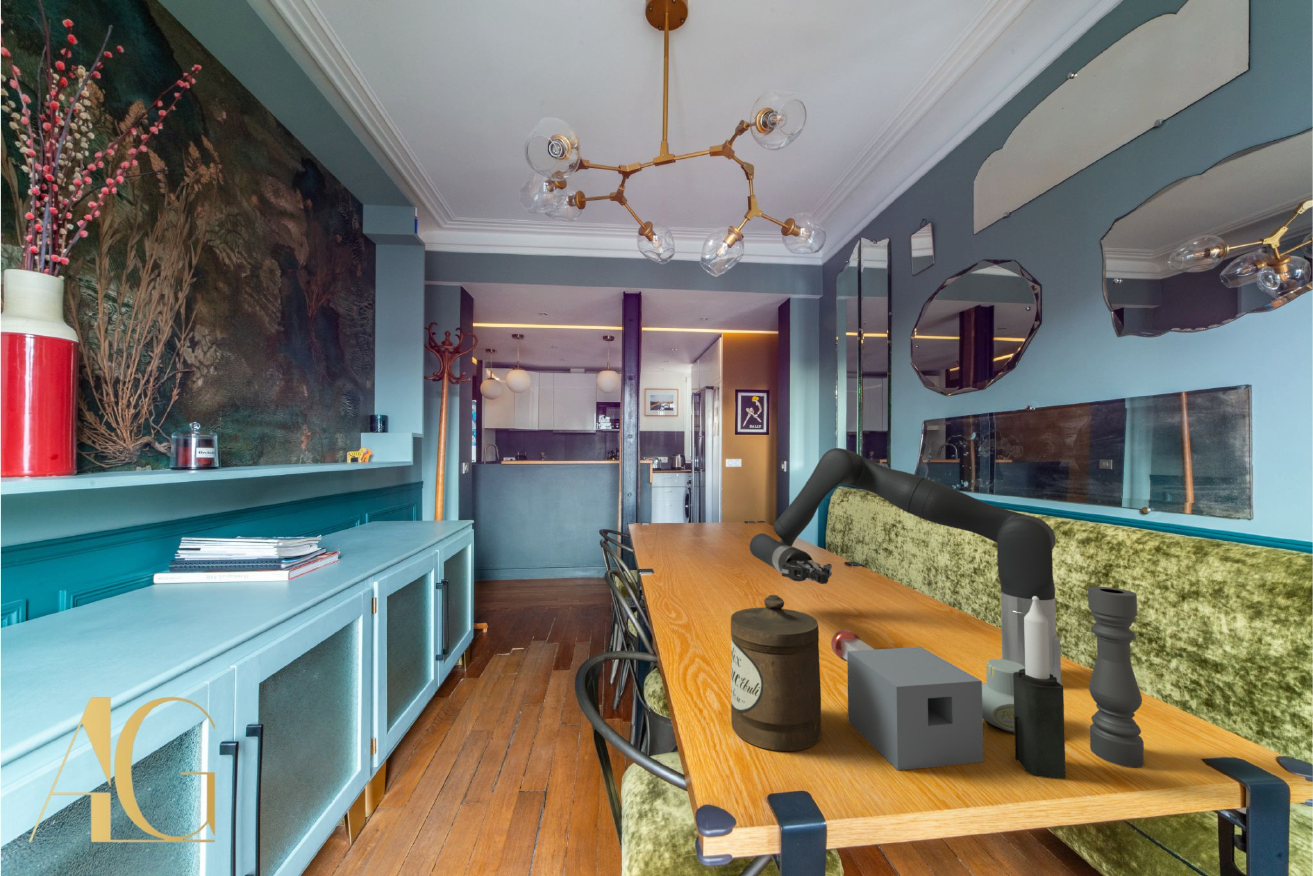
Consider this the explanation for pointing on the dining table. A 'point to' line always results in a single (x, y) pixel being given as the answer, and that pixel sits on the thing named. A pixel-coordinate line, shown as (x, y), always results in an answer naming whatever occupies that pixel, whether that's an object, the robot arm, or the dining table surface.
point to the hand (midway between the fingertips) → (824, 579)
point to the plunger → (847, 643)
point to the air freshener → (999, 693)
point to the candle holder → (1114, 678)
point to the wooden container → (775, 677)
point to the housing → (915, 707)
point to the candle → (1038, 704)
